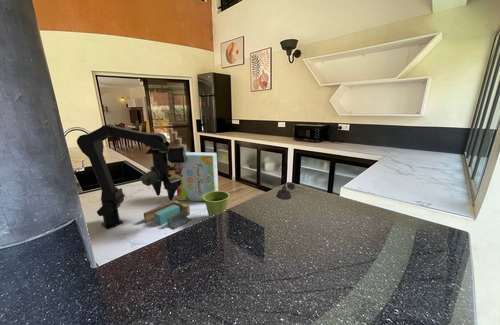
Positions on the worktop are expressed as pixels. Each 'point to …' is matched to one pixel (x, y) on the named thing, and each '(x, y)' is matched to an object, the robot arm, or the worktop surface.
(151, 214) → the tan wooden l-shaped piece
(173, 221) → the bookend
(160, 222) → the teal rectangular block
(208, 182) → the snack box
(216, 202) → the plant pot
